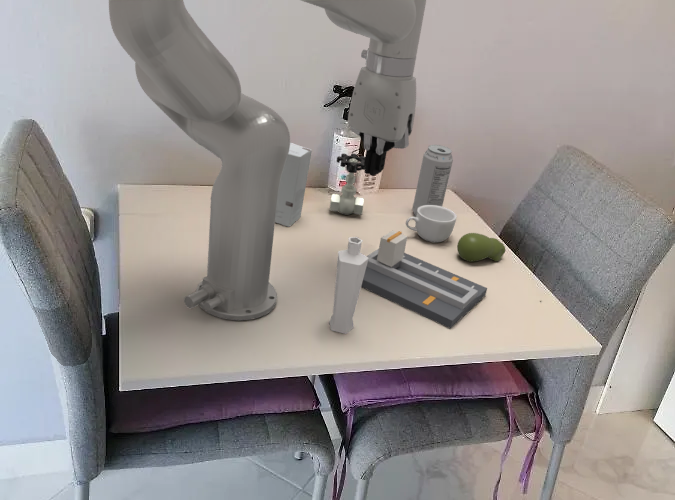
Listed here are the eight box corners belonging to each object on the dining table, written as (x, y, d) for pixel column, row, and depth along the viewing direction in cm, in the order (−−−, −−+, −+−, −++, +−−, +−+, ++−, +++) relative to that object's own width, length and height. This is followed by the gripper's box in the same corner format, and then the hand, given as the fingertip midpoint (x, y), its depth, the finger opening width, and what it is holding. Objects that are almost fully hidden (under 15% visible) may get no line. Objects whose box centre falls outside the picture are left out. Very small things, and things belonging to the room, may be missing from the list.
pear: (457, 227, 130) (498, 231, 134) (448, 251, 132) (488, 255, 136) (474, 240, 125) (515, 244, 130) (463, 265, 127) (504, 269, 132)
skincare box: (252, 216, 134) (258, 145, 127) (265, 206, 139) (272, 136, 132) (291, 228, 132) (300, 156, 125) (303, 217, 137) (312, 146, 130)
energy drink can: (427, 207, 149) (442, 142, 142) (445, 219, 145) (460, 153, 138) (405, 211, 146) (419, 144, 139) (422, 223, 142) (437, 155, 135)
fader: (390, 273, 118) (396, 242, 115) (375, 266, 119) (381, 235, 117) (401, 264, 121) (408, 234, 118) (387, 258, 123) (393, 228, 120)
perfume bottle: (358, 321, 107) (373, 236, 100) (352, 336, 103) (368, 249, 96) (329, 314, 108) (343, 229, 101) (323, 329, 104) (336, 242, 97)
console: (450, 328, 109) (454, 314, 107) (346, 279, 118) (348, 266, 116) (485, 295, 119) (489, 282, 118) (387, 253, 128) (390, 240, 127)
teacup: (442, 228, 141) (447, 204, 139) (456, 246, 135) (463, 222, 132) (396, 228, 138) (401, 204, 136) (409, 246, 132) (414, 221, 129)
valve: (361, 222, 138) (370, 167, 133) (328, 218, 138) (336, 162, 132) (361, 209, 144) (370, 155, 138) (329, 204, 144) (337, 151, 138)
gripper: (338, 56, 108) (324, 164, 117) (420, 80, 101) (400, 193, 110) (363, 50, 114) (348, 154, 122) (443, 73, 107) (421, 181, 116)
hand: (373, 172), depth 116 cm, fingers closed
